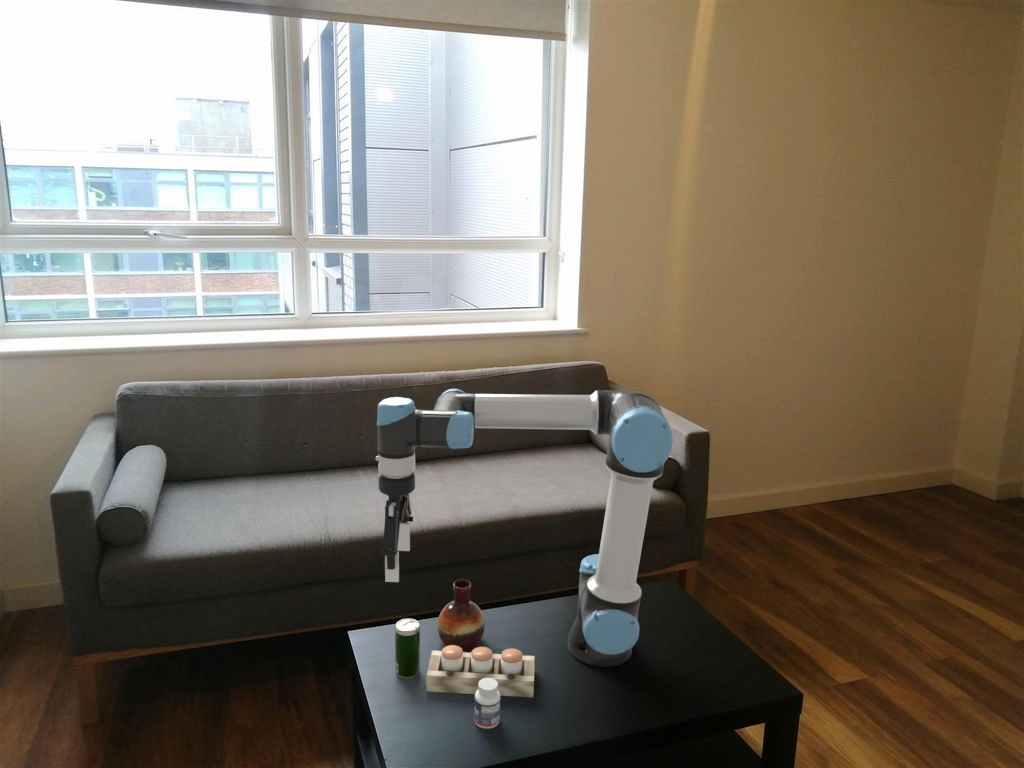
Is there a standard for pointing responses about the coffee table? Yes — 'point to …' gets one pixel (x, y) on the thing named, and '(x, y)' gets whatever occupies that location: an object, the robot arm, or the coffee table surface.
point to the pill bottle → (487, 704)
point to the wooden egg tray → (479, 677)
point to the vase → (461, 619)
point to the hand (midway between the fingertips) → (398, 565)
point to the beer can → (407, 648)
